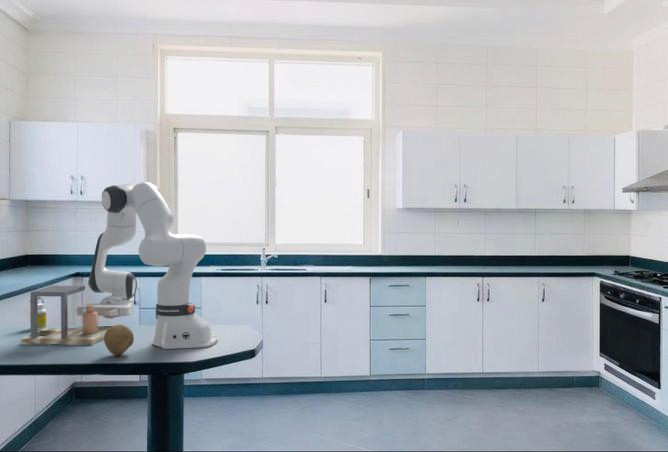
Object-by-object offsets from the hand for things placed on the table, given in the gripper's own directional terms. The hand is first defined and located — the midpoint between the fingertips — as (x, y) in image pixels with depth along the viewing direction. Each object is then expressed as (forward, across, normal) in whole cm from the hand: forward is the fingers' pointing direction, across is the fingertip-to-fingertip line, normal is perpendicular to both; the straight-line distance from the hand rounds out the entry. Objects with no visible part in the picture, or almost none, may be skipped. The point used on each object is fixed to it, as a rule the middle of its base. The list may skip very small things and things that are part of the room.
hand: (96, 314), depth 194 cm
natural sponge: (+26, +19, +8) cm, 33 cm away
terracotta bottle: (+6, 0, +6) cm, 8 cm away
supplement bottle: (-10, -27, +8) cm, 30 cm away
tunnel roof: (+6, -11, +6) cm, 14 cm away
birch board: (+6, -8, +8) cm, 13 cm away
